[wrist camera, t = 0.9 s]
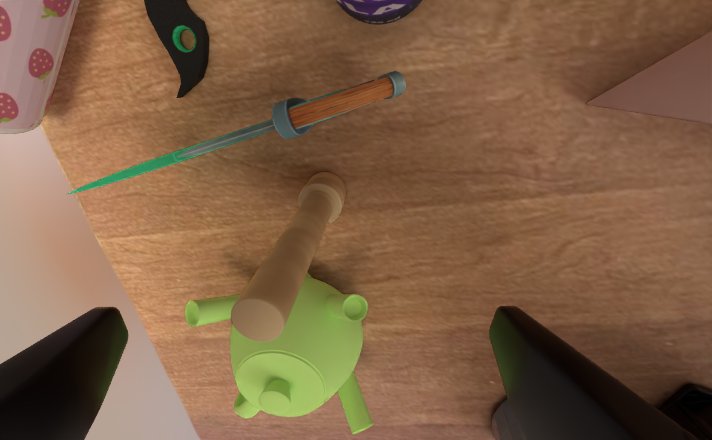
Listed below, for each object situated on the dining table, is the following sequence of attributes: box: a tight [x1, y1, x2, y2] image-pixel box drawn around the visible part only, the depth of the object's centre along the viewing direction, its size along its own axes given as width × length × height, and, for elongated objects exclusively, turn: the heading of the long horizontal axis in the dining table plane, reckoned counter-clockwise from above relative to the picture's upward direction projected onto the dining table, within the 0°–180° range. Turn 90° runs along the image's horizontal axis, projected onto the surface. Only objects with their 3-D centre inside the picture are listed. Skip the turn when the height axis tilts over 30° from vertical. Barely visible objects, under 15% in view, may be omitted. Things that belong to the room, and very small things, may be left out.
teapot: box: [185, 273, 373, 434], centre depth 23 cm, size 11×12×8 cm
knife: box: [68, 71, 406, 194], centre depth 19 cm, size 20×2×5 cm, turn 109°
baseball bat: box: [231, 172, 346, 341], centre depth 17 cm, size 3×3×13 cm
